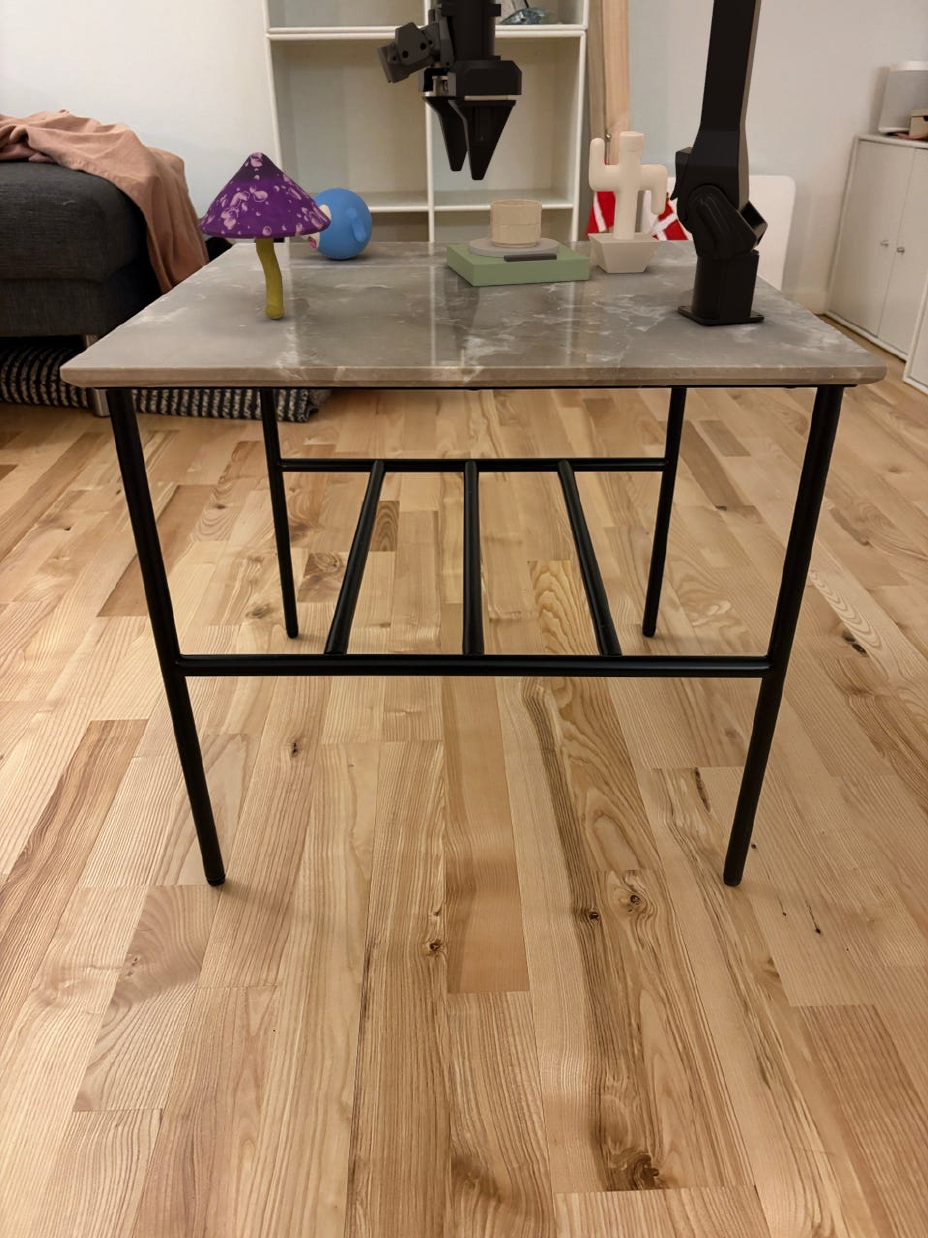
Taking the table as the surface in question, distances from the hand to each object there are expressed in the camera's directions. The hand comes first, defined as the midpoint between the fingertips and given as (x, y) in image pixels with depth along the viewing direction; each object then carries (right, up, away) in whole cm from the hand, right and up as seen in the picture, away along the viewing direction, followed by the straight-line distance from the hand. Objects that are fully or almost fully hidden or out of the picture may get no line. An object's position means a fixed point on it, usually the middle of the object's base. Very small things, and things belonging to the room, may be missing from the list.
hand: (466, 175), depth 94 cm
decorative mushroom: (-19, -16, -2) cm, 25 cm away
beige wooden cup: (+6, 0, +16) cm, 17 cm away
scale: (+6, -3, +18) cm, 19 cm away
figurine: (+19, -3, +19) cm, 27 cm away
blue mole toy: (-18, +1, +26) cm, 31 cm away
